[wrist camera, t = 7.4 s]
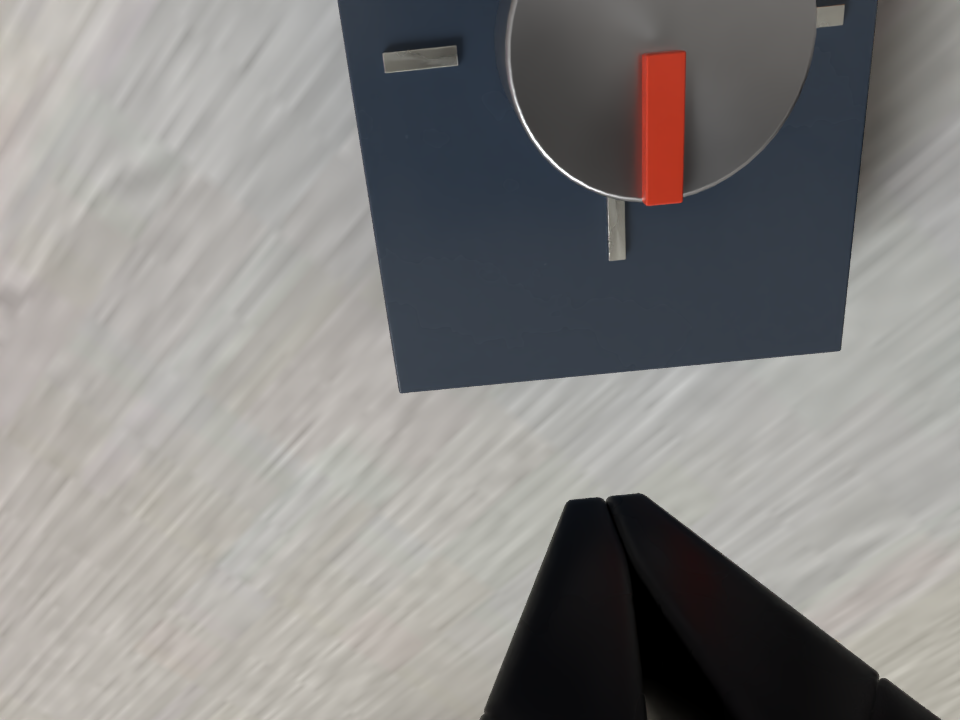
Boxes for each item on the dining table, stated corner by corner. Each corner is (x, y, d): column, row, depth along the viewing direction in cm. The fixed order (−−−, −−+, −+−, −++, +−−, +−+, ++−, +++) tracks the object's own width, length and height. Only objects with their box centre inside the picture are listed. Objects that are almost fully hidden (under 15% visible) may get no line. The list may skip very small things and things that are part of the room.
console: (306, -341, 14) (267, -428, 12) (842, -403, 14) (939, -508, 11) (408, 342, 20) (398, 397, 17) (789, 305, 20) (845, 355, 17)
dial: (484, -84, 14) (493, -124, 10) (734, -108, 13) (846, -159, 10) (503, 168, 15) (516, 221, 11) (723, 147, 15) (813, 194, 11)
